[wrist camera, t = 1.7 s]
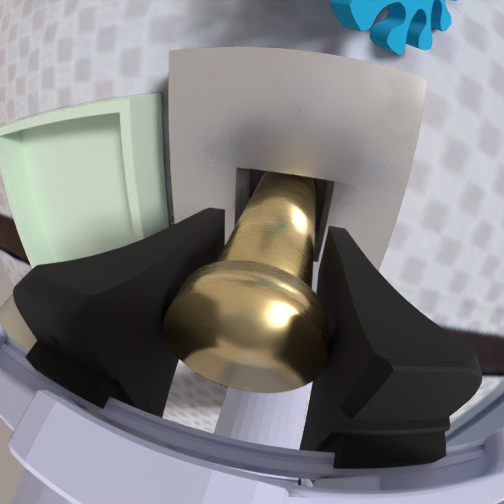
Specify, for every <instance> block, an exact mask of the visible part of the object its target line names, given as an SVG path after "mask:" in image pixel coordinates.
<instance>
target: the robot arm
mask: <svg viewBox="0 0 504 504" xmlns="http://www.w3.org/2000/svg"><path fill="white" fill-rule="evenodd" d="M224 247H225V209H218V208H211V207H209V208H206V209H204V210H202V211H200V212H198V213H196V214H194V215H192V216H190V217H188V218H186V219H184V220H182V221H180V222H178V223H176V224H174V225H172V226H170V227H168V228H166V229H164V230H162V231H160V232H157V233H155V234H153V235H151V236H149V237H146V238H144V239H142V240H139V241H137V242H134V243H131V244H129V245H126V246H123V247H120V248H116V249H113V250H110V251H107V252H103V253H100V254H96V255H92V256H88V257H84V258H79V259H74V260H69V261H63V262H56V263H49V264H41V265H37V266H35V267H34V268H33V269H32V270H31V271H30V272H29V273H28V274H27V275H26V276H25V277H24V278H23V279H22V280H21V281H20V282H19V283H18V284H17V285H16V286H15V287H14V290H13V298H14V302H15V304H16V307H17V309H18V311H19V313H20V314H21V316H22V318H23V319H24V321H25V323H26V324H27V326H28V327H29V329H30V330H31V332H32V333H33V335H34V336H35V338H36V339H37V341H36V343H35V344H34V345H33V347H32V348H31V350H30V351H28V350H27V349H25V348H24V347H23V346H21V345H20V344H18V343H17V342H16V341H14V340H13V339H12V338H10V337H9V336H8V334H7V332H6V331H5V329H4V328H3V326H2V325H1V324H0V417H1V418H2V419H3V420H4V422H5V423H6V424H7V425H8V426H9V427H10V428H11V429H12V430H13V433H12V435H11V437H10V439H9V443H8V445H9V447H10V450H11V453H12V454H13V455H14V456H15V457H16V458H17V459H18V460H19V462H20V463H21V464H22V465H23V466H25V468H26V469H25V471H24V473H23V475H22V478H21V480H20V482H19V484H18V486H17V489H16V491H15V494H14V496H13V498H12V501H11V503H10V504H497V503H499V502H501V501H503V500H504V427H502V428H500V429H498V430H496V431H495V432H493V433H492V434H490V435H489V436H488V437H486V438H485V439H484V440H480V441H476V442H471V443H467V444H462V445H457V446H451V447H446V442H445V431H448V430H449V428H450V419H449V416H451V415H452V414H453V413H454V412H456V411H457V410H458V409H459V408H461V407H462V406H463V405H464V404H465V403H466V402H468V401H469V400H470V399H471V398H472V397H473V396H474V395H475V394H476V392H477V390H478V389H479V387H480V385H481V383H482V374H481V370H480V367H479V363H478V360H477V357H476V353H475V350H474V348H472V347H471V346H469V345H467V344H466V343H464V342H463V341H461V340H459V339H458V338H456V337H455V336H453V335H451V334H450V333H448V332H447V331H445V330H444V329H442V328H441V327H440V326H438V325H437V324H435V323H434V322H433V321H431V320H430V319H429V318H427V317H426V316H425V315H424V314H422V313H421V312H420V311H419V310H417V309H416V308H415V307H414V306H413V305H412V304H410V303H409V302H408V301H407V300H406V299H405V298H404V297H403V296H402V295H400V294H399V293H398V292H397V291H396V290H395V289H394V288H393V287H392V286H391V285H390V284H389V283H388V281H387V280H386V279H385V278H384V277H383V276H382V275H381V274H380V273H379V271H378V270H377V269H376V268H375V267H374V266H373V264H372V263H371V262H370V261H369V259H368V258H367V257H366V255H365V254H364V253H363V252H362V250H361V249H360V248H359V246H358V245H357V243H356V242H355V241H354V239H353V238H352V237H351V235H350V234H349V233H348V231H347V230H346V229H345V228H340V227H335V226H329V227H328V232H327V236H326V241H325V245H324V250H323V254H322V258H321V262H320V266H319V270H318V280H317V291H316V294H317V295H318V297H319V298H320V299H321V301H322V302H323V304H324V306H325V308H326V311H327V314H328V321H329V332H328V356H327V363H326V366H325V368H324V370H323V371H322V373H321V374H320V375H319V376H318V377H317V378H316V379H315V380H314V381H312V382H311V383H309V384H307V385H306V386H303V387H301V388H298V389H295V390H292V391H287V392H281V393H253V392H246V391H240V390H236V389H232V388H229V387H228V390H227V393H226V396H225V399H224V402H223V406H222V409H221V412H220V415H219V418H218V421H217V424H216V428H215V431H214V434H213V433H209V432H205V431H202V430H198V429H195V428H191V427H188V426H185V425H182V424H178V423H175V422H172V421H169V420H167V419H164V418H162V416H163V412H164V408H165V404H166V401H167V397H168V393H169V390H170V386H171V383H172V380H173V376H174V373H175V370H176V367H177V364H178V361H179V358H178V357H177V356H176V354H175V353H174V352H173V351H172V349H171V348H170V346H169V344H168V342H167V341H166V338H165V335H164V330H163V321H164V316H165V314H166V312H167V310H168V308H169V307H170V305H171V303H172V302H173V300H174V298H175V296H176V295H177V293H178V291H179V290H180V288H181V286H182V285H183V283H184V281H185V280H186V279H187V278H188V277H189V276H190V275H191V274H192V273H193V272H195V271H196V270H198V269H200V268H201V267H204V266H206V265H209V264H211V263H216V262H217V260H218V258H219V256H220V254H221V252H222V250H223V248H224ZM310 392H311V395H310V400H309V406H308V411H307V416H306V421H305V426H304V420H305V413H306V405H307V398H308V396H309V394H310ZM101 420H102V421H101ZM103 421H104V422H103ZM105 422H106V423H105ZM107 423H108V424H107ZM109 424H110V425H109ZM303 427H304V431H303ZM124 431H125V432H124ZM302 434H303V435H302ZM133 435H134V436H133ZM140 438H141V439H140ZM145 440H146V441H145ZM150 442H151V443H150ZM155 444H156V445H155ZM166 448H167V449H166ZM190 456H191V457H190ZM309 479H316V480H317V481H315V482H314V486H313V484H312V482H311V481H310V480H309Z"/></svg>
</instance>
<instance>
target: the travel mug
mask: <svg viewBox="0 0 504 504" xmlns="http://www.w3.org/2000/svg"><path fill="white" fill-rule="evenodd" d="M0 324H1V325H2V326H3V328H4V329H5V331H6V332H7V334H8V336H9V337H10V338H12V339H13V340H14V341H16V342H17V343H18V344H20V345H21V346H23V347H24V348H25V349H27V350H28V351H30V350H31V348H32V347H33V345H34V344H35V343H36V341H37V339H36V338H35V336H34V335H33V333H32V332H31V330H30V329H29V327H28V326H27V324H26V323H25V321H24V319H23V318H22V316H21V314H20V313H19V311H18V309H17V307H16V304H15V302H14V298H13V294H12V295H11V296H10V297H9V298H8V299H7V301H6V302H5V303H4V304H3V305H2V306H1V307H0Z"/></svg>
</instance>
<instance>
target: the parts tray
mask: <svg viewBox="0 0 504 504" xmlns="http://www.w3.org/2000/svg"><path fill="white" fill-rule="evenodd" d="M0 169H1V174H2V178H3V182H4V186H5V190H6V194H7V198H8V202H9V205H10V209H11V212H12V215H13V218H14V221H15V224H16V227H17V230H18V233H19V236H20V239H21V242H22V244H23V247H24V250H25V252H26V255H27V257H28V260H29V262H30V264H31V267H32V269H33V268H34V267H35V266H37V265H41V264H49V263H56V262H63V261H69V260H74V259H79V258H84V257H88V256H92V255H96V254H100V253H103V252H107V251H110V250H113V249H116V248H120V247H123V246H126V245H129V244H131V243H134V242H137V241H139V240H142V239H144V238H146V237H149V236H151V235H153V234H155V233H157V232H160V231H162V230H164V229H166V228H168V227H169V218H168V207H167V196H166V184H165V170H164V152H163V129H162V93H154V94H143V95H134V96H125V97H118V98H111V99H104V100H98V101H92V102H87V103H82V104H77V105H72V106H68V107H63V108H59V109H55V110H51V111H47V112H43V113H40V114H36V115H33V116H29V117H26V118H23V119H20V120H17V121H15V122H12V123H10V124H7V125H5V126H2V127H0Z"/></svg>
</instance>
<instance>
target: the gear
mask: <svg viewBox="0 0 504 504" xmlns="http://www.w3.org/2000/svg"><path fill="white" fill-rule="evenodd" d="M453 1H457V0H453ZM387 5H388V15H387V17H386V19H385V20H383V21H380V22H378V23H376V24H375V25H373V23H374V21H375V18H376V17H377V15H378V13H379V12H380V11H381V10H382V9H383V8H384V7H385V6H387ZM331 6H332V9H333V11H334V13H335V15H336V17H337V19H338V20H339V22H340V23H341V24H342V26H343V27H347V28H351V29H355V30H359V31H366V30H368V29H369V28H370V27H371V26H372V25H373V27H372V29H371V31H370V39H371V40H372V41H373V42H374V43H375V44H376V45H377V46H379V47H381V48H382V49H385V50H387V51H390V52H393V53H395V54H398V55H401V54H402V53H403V51H404V49H405V46H406V44H408V45H411V46H413V47H416V48H419V49H421V50H429V49H431V46H432V33H431V27H432V28H435V29H437V30H440V31H442V32H443V31H445V30H447V29H448V28H449V26H450V25H451V16H450V13H449V12H448V10H447V7H446V4H445V1H444V0H331Z"/></svg>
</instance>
